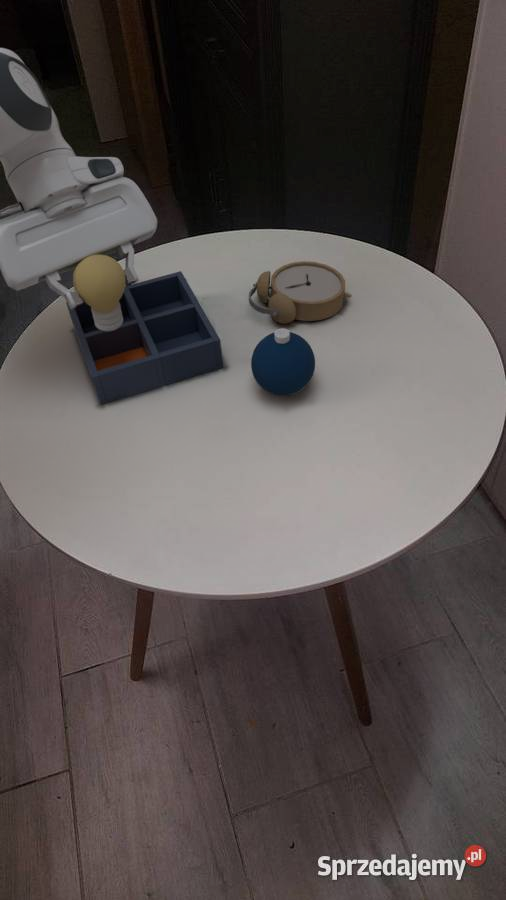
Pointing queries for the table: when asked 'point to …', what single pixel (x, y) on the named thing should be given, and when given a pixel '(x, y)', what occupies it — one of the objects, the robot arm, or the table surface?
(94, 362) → the navy compartment tray
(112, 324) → the light bulb
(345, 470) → the table surface
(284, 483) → the table surface
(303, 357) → the christmas ornament
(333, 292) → the alarm clock
